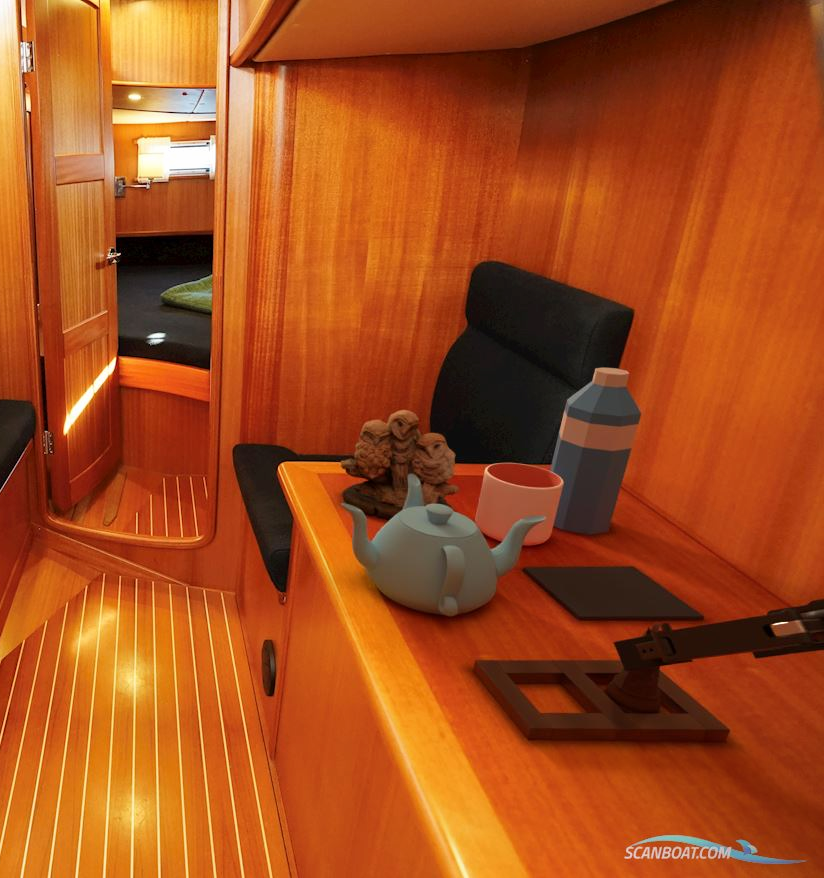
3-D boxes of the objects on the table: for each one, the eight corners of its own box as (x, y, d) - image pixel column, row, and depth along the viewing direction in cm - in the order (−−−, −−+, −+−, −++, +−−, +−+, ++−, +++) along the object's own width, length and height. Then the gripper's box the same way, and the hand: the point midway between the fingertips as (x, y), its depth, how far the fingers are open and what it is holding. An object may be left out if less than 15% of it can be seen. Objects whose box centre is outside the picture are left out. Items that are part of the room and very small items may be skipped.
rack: (645, 671, 79) (648, 660, 79) (726, 741, 69) (730, 729, 69) (472, 670, 80) (474, 659, 80) (527, 739, 70) (530, 728, 70)
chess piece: (599, 704, 74) (623, 626, 71) (609, 681, 78) (632, 605, 74) (654, 727, 71) (682, 645, 68) (662, 702, 74) (689, 623, 71)
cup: (459, 527, 112) (470, 469, 109) (501, 514, 116) (513, 458, 112) (520, 555, 103) (534, 493, 100) (564, 540, 107) (579, 480, 103)
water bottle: (527, 507, 118) (560, 363, 109) (588, 509, 116) (626, 363, 107) (557, 533, 109) (596, 379, 100) (623, 535, 108) (668, 379, 99)
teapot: (395, 542, 108) (406, 469, 104) (529, 594, 94) (549, 512, 90) (330, 579, 99) (339, 501, 95) (467, 643, 85) (486, 555, 80)
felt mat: (632, 569, 99) (633, 566, 98) (703, 620, 87) (704, 616, 87) (522, 570, 99) (523, 566, 99) (578, 620, 88) (579, 616, 88)
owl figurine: (335, 513, 118) (347, 418, 112) (336, 486, 128) (347, 397, 122) (457, 529, 111) (476, 428, 105) (447, 499, 122) (464, 405, 116)
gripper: (824, 678, 46) (583, 702, 65) (1152, 645, 48) (825, 678, 67) (765, 567, 49) (552, 621, 68) (1075, 540, 51) (784, 600, 70)
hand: (687, 650), depth 68 cm, fingers open, 13 cm apart
